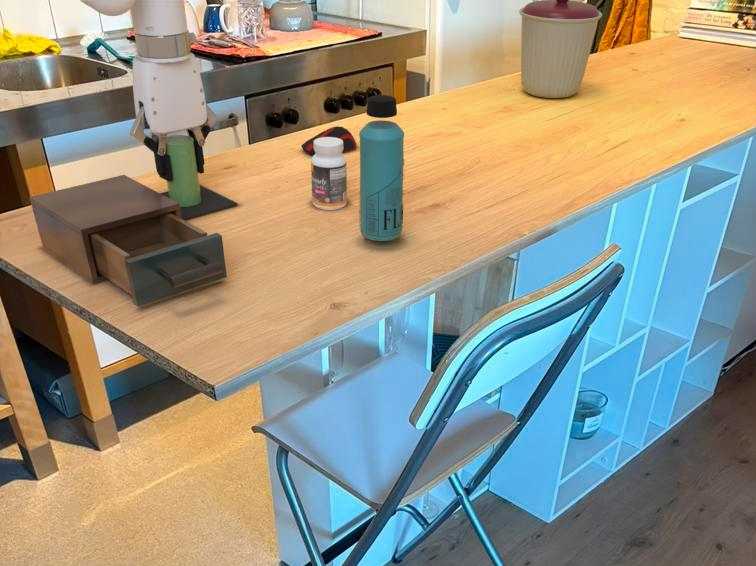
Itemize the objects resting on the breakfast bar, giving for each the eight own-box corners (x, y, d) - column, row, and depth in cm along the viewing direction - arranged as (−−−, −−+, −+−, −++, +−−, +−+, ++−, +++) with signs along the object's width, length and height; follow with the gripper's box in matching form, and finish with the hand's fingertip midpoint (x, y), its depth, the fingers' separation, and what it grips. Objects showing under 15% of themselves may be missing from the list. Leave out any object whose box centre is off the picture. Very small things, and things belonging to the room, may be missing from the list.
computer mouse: (297, 152, 154) (296, 130, 151) (341, 141, 159) (340, 119, 157) (318, 160, 150) (317, 138, 148) (362, 149, 156) (362, 126, 153)
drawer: (246, 288, 107) (241, 245, 103) (156, 319, 100) (147, 274, 96) (170, 244, 118) (164, 204, 114) (85, 269, 111) (75, 228, 107)
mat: (173, 224, 126) (172, 220, 125) (134, 203, 132) (134, 199, 132) (237, 206, 132) (237, 203, 132) (197, 187, 139) (197, 183, 138)
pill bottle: (305, 204, 133) (302, 140, 127) (332, 196, 136) (330, 133, 130) (327, 214, 130) (325, 149, 124) (354, 205, 133) (353, 141, 127)
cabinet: (187, 256, 117) (179, 203, 112) (93, 285, 109) (80, 229, 104) (133, 225, 125) (124, 174, 121) (43, 249, 118) (29, 196, 113)
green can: (180, 209, 129) (171, 146, 123) (164, 200, 132) (154, 138, 126) (207, 202, 132) (199, 140, 126) (191, 193, 134) (182, 132, 128)
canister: (605, 97, 187) (624, -10, 174) (543, 107, 180) (558, -4, 167) (555, 80, 199) (569, -22, 185) (495, 88, 192) (505, -17, 178)
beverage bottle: (382, 255, 118) (384, 106, 105) (349, 242, 121) (347, 96, 108) (411, 242, 122) (416, 97, 109) (379, 230, 125) (380, 88, 112)
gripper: (199, 34, 124) (214, 158, 136) (96, 49, 115) (122, 180, 127) (227, 42, 120) (240, 169, 131) (122, 58, 111) (146, 193, 123)
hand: (181, 173), depth 129 cm, fingers closed on green can, 5 cm apart
